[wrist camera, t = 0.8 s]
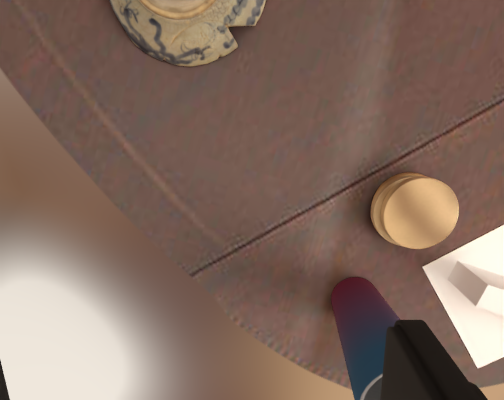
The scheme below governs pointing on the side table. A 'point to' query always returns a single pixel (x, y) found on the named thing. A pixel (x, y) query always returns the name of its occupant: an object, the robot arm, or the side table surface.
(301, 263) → the side table surface
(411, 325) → the robot arm
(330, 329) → the side table surface
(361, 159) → the side table surface
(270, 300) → the side table surface
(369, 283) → the cup
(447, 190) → the chip pile
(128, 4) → the decorative bowl
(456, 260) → the napkin holder
